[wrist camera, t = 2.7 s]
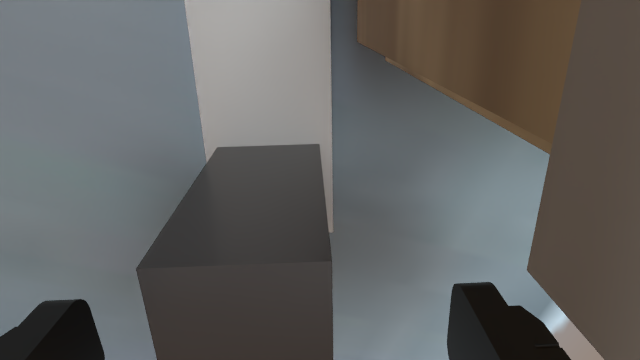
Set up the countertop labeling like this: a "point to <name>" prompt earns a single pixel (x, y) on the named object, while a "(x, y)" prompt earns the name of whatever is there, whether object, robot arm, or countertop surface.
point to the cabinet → (548, 130)
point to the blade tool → (252, 192)
